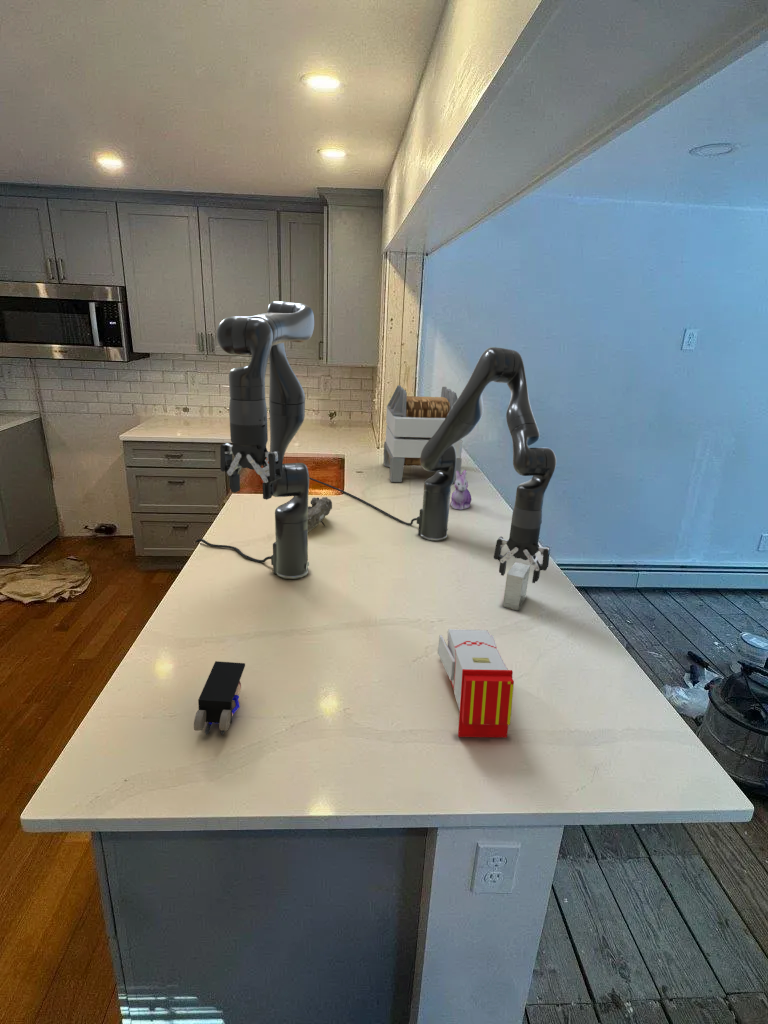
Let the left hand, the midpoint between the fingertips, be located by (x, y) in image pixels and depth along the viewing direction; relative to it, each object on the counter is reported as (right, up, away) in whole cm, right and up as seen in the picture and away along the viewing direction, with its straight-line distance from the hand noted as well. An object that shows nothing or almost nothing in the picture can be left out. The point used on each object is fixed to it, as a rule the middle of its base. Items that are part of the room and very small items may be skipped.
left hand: (251, 495), depth 122 cm
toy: (+46, -41, -3) cm, 62 cm away
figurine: (+60, -2, +109) cm, 124 cm away
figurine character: (-2, -43, -13) cm, 45 cm away
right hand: (+65, -22, +32) cm, 76 cm away
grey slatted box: (+46, +15, +153) cm, 160 cm away
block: (+65, -29, +34) cm, 79 cm away
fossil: (+3, -9, +82) cm, 83 cm away
